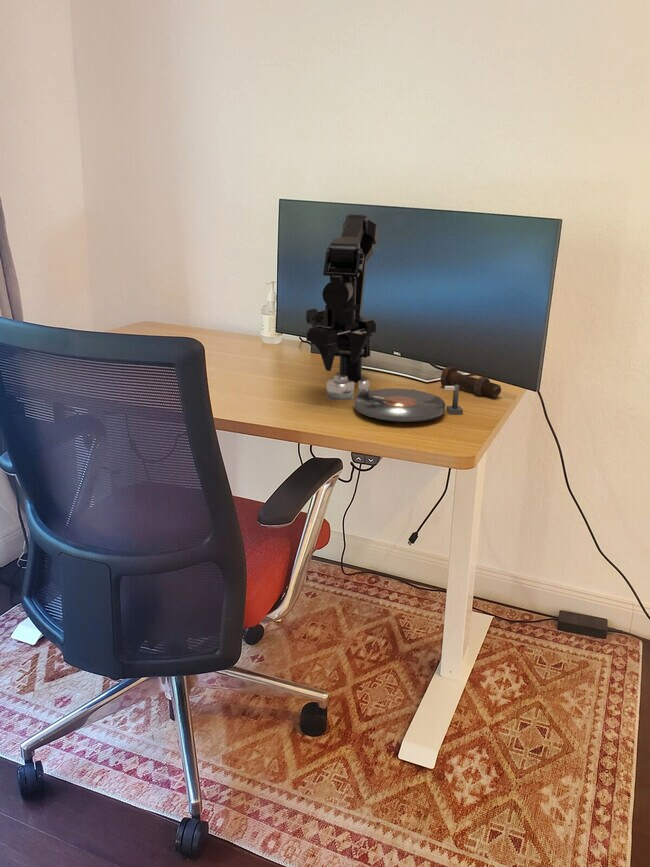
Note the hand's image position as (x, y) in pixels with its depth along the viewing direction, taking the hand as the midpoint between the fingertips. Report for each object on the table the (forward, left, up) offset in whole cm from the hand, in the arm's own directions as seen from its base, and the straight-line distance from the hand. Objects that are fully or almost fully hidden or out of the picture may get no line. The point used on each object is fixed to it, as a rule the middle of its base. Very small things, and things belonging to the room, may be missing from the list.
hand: (341, 366), depth 175 cm
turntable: (+12, +12, -6) cm, 18 cm away
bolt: (-3, +32, -8) cm, 33 cm away
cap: (0, 0, -7) cm, 7 cm away
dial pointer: (+12, +24, -7) cm, 28 cm away
